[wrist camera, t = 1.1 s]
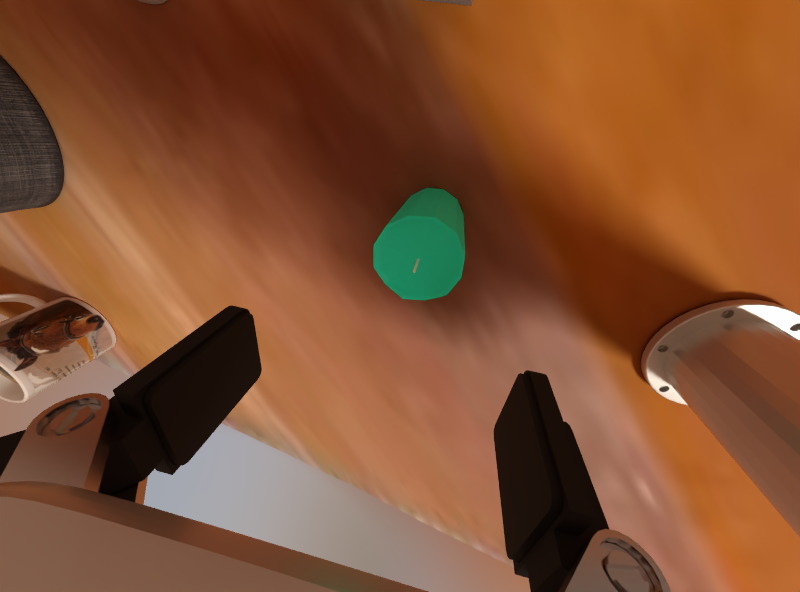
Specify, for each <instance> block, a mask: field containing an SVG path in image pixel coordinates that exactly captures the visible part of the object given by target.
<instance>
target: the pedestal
mask: <svg viewBox="0 0 800 592" xmlns="http://www.w3.org/2000/svg"><path fill="white" fill-rule="evenodd" d="M423 1H433V2H442V3H452V4H461V5H471V4H472V0H423Z"/></svg>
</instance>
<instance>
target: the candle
mask: <svg viewBox="0 0 800 592" xmlns="http://www.w3.org/2000/svg"><path fill="white" fill-rule="evenodd" d="M464 260H465V235H464V215H463V212H462V210H461V207H460V205H459V202H458V200H457V199H456V198H455V197H453V196H452V195H451V194H449V193H448V192H447V191H445V190H444V189H435V188H425V189H423V190H421V191H419V192H417V193H415V194H413V195H411V196H410V197H409V199H408V200H407V201H406V202H405V203H404V205H403V206H402V207H401V208H400V209H399V211H398V212H397V213H396V214H395V215H394V217H393V218H392V219H391V220H390V222H389V223H388V224H387V225H386V227H385V228H384V230H383V231H382V233H381V234H380V236H379V237H378V239H377V240H376V242H375V243H374V245H373V267H374V269H375V270H376V272H377V273H378V275H379V276H380V277H381V279H382V280H383V282H384V283H385V285H387V286H388V287H389V288H390V289H391V290H393V291H394V292H395V293H396V294H397V295H399V296H400V297H401V298H402V299H411V300H429V299H433V298H438V297H442V296H446V295H447V294H448V293H449V292H450V291H451V289H452V288H453V287H454V286H455V285H456V284H457V283H458V281H459V280H460V279H461V277H462V271H463V266H464Z"/></svg>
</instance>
